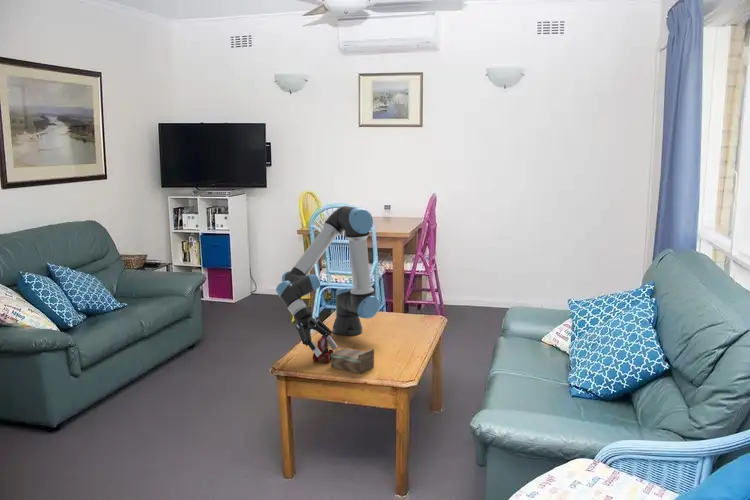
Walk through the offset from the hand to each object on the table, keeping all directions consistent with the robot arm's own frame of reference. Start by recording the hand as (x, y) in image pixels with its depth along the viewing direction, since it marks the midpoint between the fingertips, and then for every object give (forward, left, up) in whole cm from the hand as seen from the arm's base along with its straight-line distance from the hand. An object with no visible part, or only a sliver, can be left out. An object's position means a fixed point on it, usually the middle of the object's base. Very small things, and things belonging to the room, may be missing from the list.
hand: (327, 352), depth 269 cm
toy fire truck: (-3, 0, -5) cm, 5 cm away
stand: (+13, 0, -4) cm, 14 cm away
